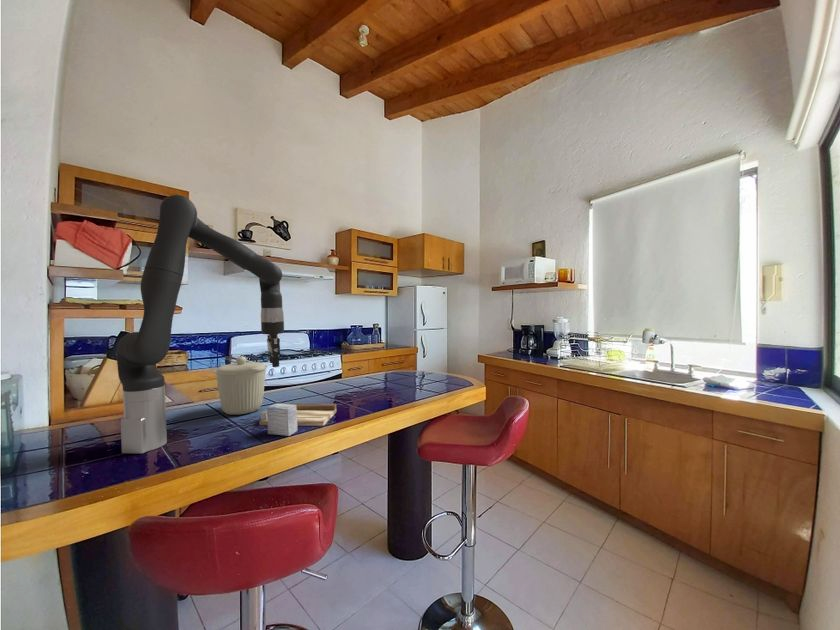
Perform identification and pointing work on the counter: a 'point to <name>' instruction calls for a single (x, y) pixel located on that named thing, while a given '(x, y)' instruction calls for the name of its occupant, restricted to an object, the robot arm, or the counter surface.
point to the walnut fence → (315, 406)
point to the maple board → (310, 417)
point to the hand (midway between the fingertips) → (274, 364)
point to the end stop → (264, 415)
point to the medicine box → (282, 419)
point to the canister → (241, 386)
